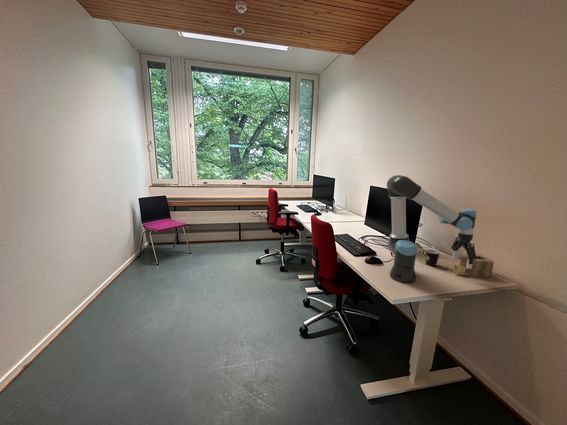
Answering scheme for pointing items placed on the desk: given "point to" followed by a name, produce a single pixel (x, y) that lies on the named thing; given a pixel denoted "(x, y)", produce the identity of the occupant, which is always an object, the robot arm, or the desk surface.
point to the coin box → (478, 266)
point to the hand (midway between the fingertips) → (461, 264)
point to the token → (459, 270)
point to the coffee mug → (431, 257)
